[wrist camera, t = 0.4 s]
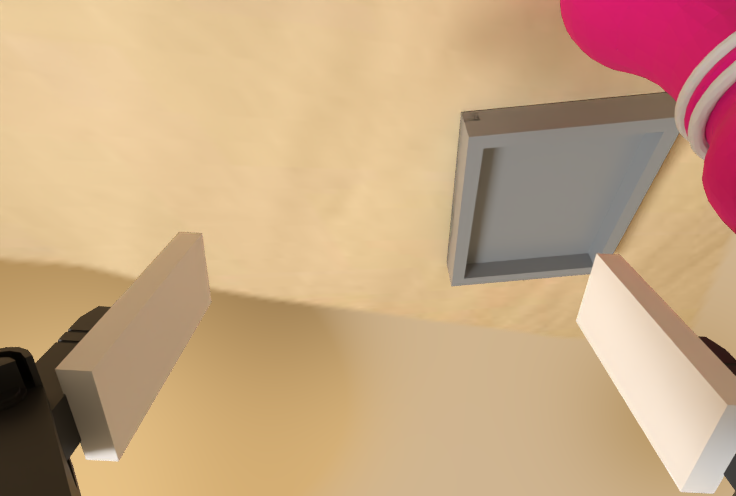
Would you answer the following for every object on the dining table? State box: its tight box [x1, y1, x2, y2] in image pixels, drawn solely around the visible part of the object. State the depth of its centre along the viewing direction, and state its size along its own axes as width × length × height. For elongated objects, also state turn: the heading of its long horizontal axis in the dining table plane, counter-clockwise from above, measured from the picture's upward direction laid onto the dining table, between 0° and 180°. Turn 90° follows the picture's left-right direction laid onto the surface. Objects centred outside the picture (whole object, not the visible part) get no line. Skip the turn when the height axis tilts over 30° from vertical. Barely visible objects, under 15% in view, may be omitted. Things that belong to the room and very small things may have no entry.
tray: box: [447, 92, 679, 286], centre depth 35 cm, size 16×13×2 cm
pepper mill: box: [560, 0, 736, 234], centre depth 16 cm, size 7×7×20 cm
